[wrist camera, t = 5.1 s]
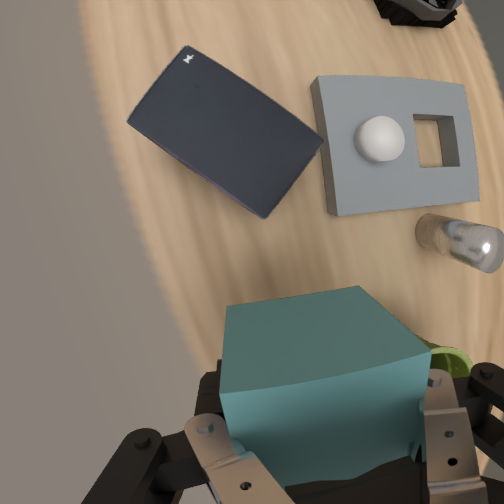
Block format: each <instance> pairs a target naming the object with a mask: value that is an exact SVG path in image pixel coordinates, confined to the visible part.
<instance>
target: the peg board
mask: <svg viewBox="0 0 504 504" xmlns="http://www.w3.org/2000/svg"><path fill="white" fill-rule="evenodd" d="M310 88H311V93H312V99H313V105H314V111H315V117H316V123H317V130H318V134H319V135H320V136H321V137H323V138H324V139H325V142H324V144H323V145H322V147H321V148H320V150H321V158H322V165H323V173H324V181H325V189H326V198H327V207H328V213H329V214H332V215H335V216H347V215H355V214H363V213H371V212H380V211H389V210H397V209H406V208H415V207H425V206H434V205H444V204H453V203H463V202H473V201H480V195H479V180H478V168H477V159H476V150H475V142H474V135H473V129H472V123H471V117H470V111H469V106H468V101H467V96H466V92H465V87H464V85H462V84H455V83H448V82H441V81H433V80H423V79H413V78H401V77H385V76H355V75H330V76H317V77H316V79H315V80H314V81H313V83H312V84H311V85H310ZM414 119H420V120H437V123H438V129H439V135H440V142H441V150H442V158H443V167H431V168H420V161H419V153H418V145H417V138H416V132H415V125H414Z"/></svg>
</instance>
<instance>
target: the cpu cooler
mask: <svg viewBox="0 0 504 504" xmlns="http://www.w3.org/2000/svg"><path fill="white" fill-rule="evenodd" d="M374 2H375V4H376V5H377V7H378V11H379V12H380V15H381V17H382V18H389V20H390V22H391V25H403V26H404V25H406V26H407V25H408V26H423V27H433V28H443V27H445V26H446V25H448V24H449V23H451V22H452V21H454V20H455V17H454V16H455V15H457V11H456V10H455V8H457V7H458V6H459V5H461V4H462V0H374Z"/></svg>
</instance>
